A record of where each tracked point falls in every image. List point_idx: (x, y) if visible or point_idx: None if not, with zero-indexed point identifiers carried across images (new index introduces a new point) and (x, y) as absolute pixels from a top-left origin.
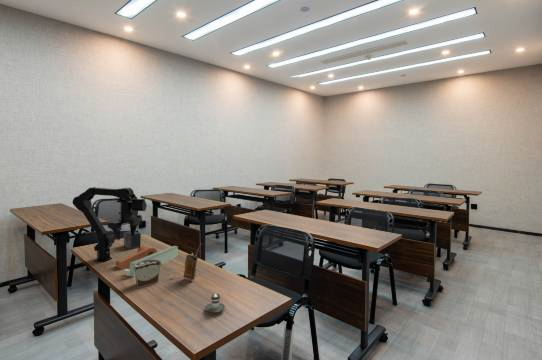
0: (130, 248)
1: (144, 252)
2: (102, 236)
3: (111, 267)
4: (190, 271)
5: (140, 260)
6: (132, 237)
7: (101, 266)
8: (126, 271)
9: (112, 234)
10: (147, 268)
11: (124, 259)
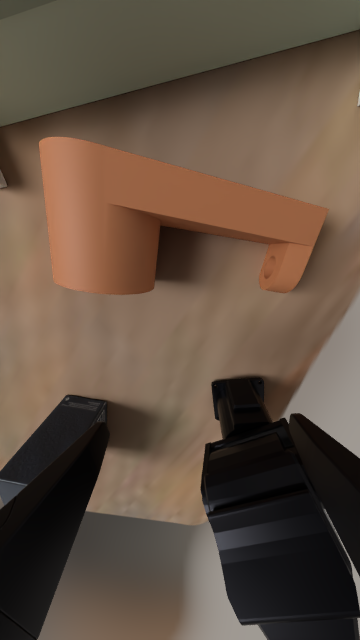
0: (102, 414)
1: (153, 164)
2: (348, 558)
3: (293, 292)
4: None
5: None
6: None
7: (299, 340)
8: None
9: (226, 547)
10: None
11: (292, 227)
